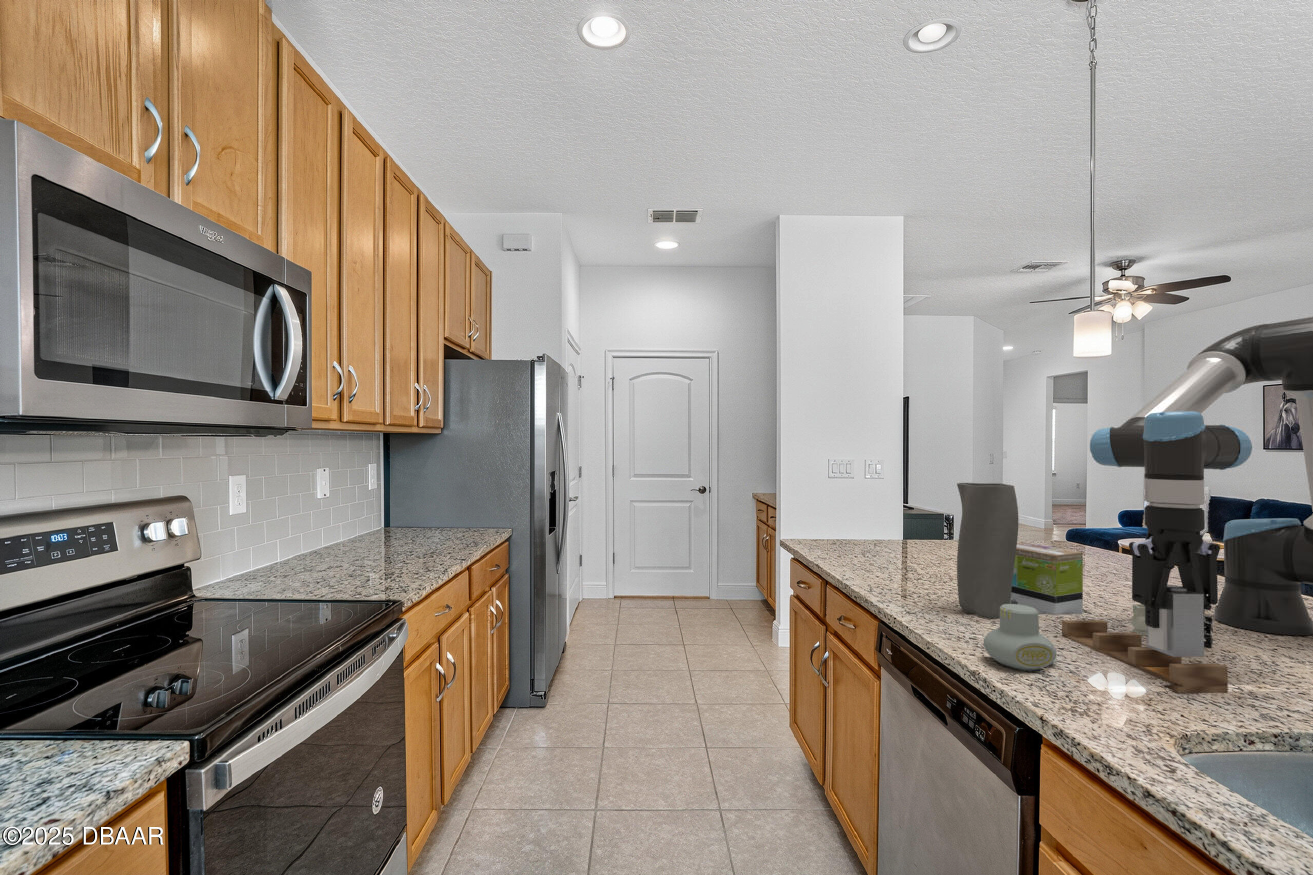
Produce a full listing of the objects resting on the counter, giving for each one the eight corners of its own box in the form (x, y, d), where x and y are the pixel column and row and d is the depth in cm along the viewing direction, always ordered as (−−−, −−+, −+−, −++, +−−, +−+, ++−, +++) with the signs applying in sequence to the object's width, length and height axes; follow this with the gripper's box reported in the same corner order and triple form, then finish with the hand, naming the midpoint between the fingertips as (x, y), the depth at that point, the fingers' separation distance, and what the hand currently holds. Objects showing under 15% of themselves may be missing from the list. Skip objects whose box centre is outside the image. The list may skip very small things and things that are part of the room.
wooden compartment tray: (1101, 640, 119) (1101, 620, 119) (1227, 692, 94) (1227, 666, 94) (1062, 640, 119) (1062, 620, 119) (1178, 693, 94) (1177, 667, 94)
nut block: (1176, 646, 101) (1175, 583, 101) (1204, 656, 96) (1203, 590, 96) (1147, 646, 101) (1146, 583, 101) (1173, 656, 96) (1173, 590, 96)
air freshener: (1034, 656, 110) (1034, 601, 110) (1066, 673, 102) (1065, 614, 102) (975, 656, 110) (975, 601, 110) (1002, 673, 102) (1002, 614, 102)
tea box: (994, 603, 148) (994, 543, 148) (1022, 599, 152) (1021, 541, 152) (1056, 620, 134) (1055, 553, 134) (1084, 615, 138) (1084, 550, 138)
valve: (1129, 640, 120) (1211, 655, 111) (1129, 607, 120) (1210, 619, 112) (1134, 633, 125) (1213, 646, 116) (1133, 601, 125) (1212, 612, 116)
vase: (1005, 610, 141) (1004, 482, 142) (1028, 625, 129) (1027, 486, 130) (949, 608, 143) (948, 482, 144) (966, 622, 131) (965, 485, 132)
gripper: (1205, 503, 103) (1206, 639, 103) (1102, 503, 102) (1103, 640, 102) (1249, 507, 96) (1251, 655, 95) (1139, 507, 95) (1140, 655, 94)
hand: (1174, 647), depth 99 cm, fingers closed on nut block, 5 cm apart
